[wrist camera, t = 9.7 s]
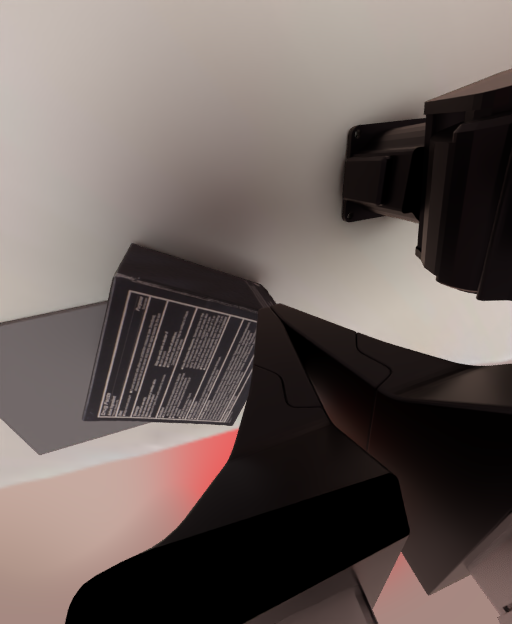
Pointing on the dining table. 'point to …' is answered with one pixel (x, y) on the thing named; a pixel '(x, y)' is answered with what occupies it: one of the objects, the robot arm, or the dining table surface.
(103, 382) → the small box
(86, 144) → the dining table surface
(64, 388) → the mat
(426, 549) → the robot arm
